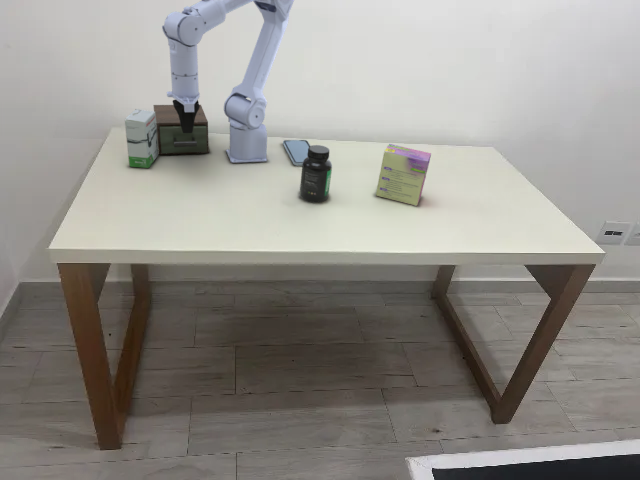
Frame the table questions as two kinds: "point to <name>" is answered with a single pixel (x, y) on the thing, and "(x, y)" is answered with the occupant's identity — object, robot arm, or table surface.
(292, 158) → the smartphone
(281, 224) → the table surface
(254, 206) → the table surface
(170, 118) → the cabinet
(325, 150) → the supplement bottle
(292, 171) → the table surface
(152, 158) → the ink box
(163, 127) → the drawer
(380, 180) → the box
